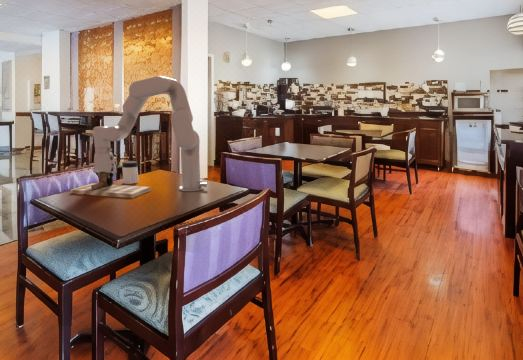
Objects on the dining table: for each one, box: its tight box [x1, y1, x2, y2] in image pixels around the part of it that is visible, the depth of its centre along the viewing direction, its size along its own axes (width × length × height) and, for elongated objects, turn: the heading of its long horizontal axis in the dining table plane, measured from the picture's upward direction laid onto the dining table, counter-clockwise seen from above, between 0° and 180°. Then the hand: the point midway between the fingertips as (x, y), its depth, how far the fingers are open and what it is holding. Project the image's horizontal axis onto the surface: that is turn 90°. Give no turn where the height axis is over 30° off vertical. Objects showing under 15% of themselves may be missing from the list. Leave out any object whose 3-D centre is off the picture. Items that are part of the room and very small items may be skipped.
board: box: [70, 182, 152, 199], centre depth 196 cm, size 36×16×2 cm, turn 74°
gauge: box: [91, 172, 114, 189], centre depth 197 cm, size 4×13×7 cm, turn 164°
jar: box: [121, 160, 139, 185], centre depth 217 cm, size 9×8×12 cm
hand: (106, 184), depth 201 cm, fingers closed on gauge, 4 cm apart
